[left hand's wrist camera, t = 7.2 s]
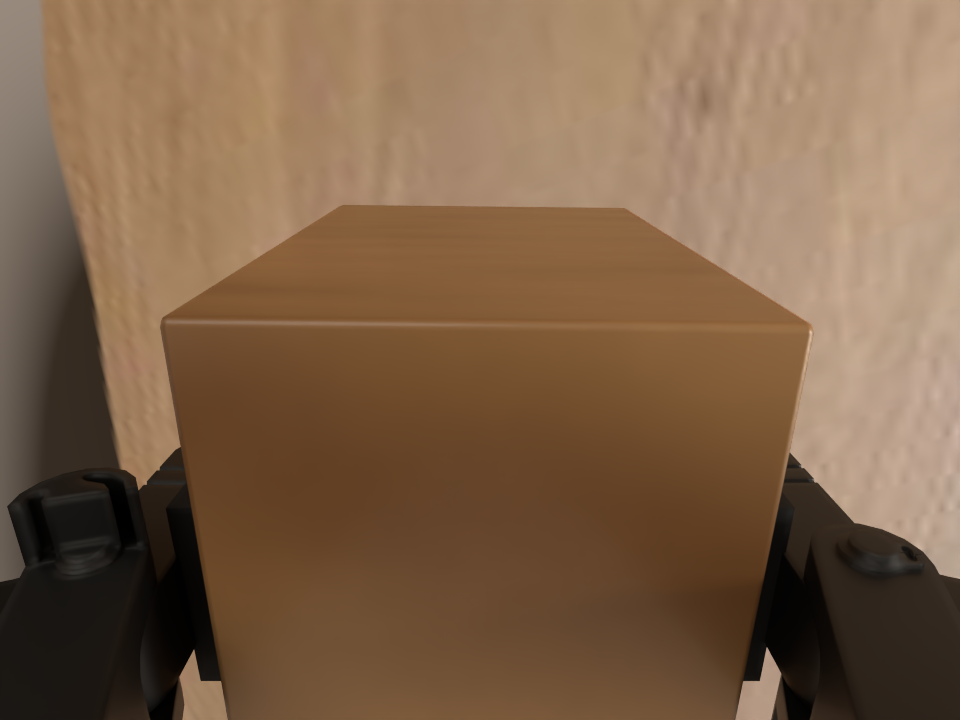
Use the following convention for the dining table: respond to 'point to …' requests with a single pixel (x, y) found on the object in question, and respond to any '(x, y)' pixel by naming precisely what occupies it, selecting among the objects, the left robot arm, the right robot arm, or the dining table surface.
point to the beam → (484, 467)
